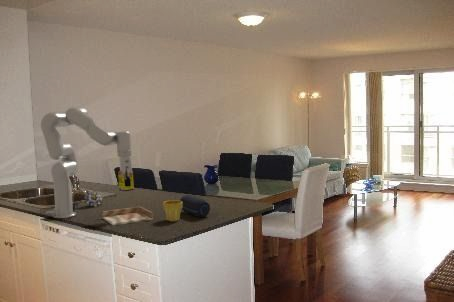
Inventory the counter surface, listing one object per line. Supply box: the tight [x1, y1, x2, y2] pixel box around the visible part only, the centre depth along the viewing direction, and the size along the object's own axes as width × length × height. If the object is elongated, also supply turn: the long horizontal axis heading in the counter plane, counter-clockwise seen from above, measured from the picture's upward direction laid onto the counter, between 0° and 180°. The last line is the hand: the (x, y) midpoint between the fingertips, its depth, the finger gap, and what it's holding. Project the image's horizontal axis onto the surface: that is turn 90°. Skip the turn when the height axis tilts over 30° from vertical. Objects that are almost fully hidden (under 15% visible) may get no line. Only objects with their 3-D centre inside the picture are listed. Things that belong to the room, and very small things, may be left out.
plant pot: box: [162, 199, 183, 222], centre depth 241 cm, size 10×10×10 cm
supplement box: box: [117, 170, 135, 192], centre depth 248 cm, size 6×6×11 cm
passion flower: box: [82, 190, 103, 208], centre depth 286 cm, size 11×11×12 cm
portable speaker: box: [179, 194, 211, 218], centre depth 253 cm, size 25×10×10 cm, turn 31°
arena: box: [102, 205, 154, 226], centre depth 246 cm, size 22×20×4 cm
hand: (126, 185), depth 249 cm, fingers closed on supplement box, 7 cm apart
